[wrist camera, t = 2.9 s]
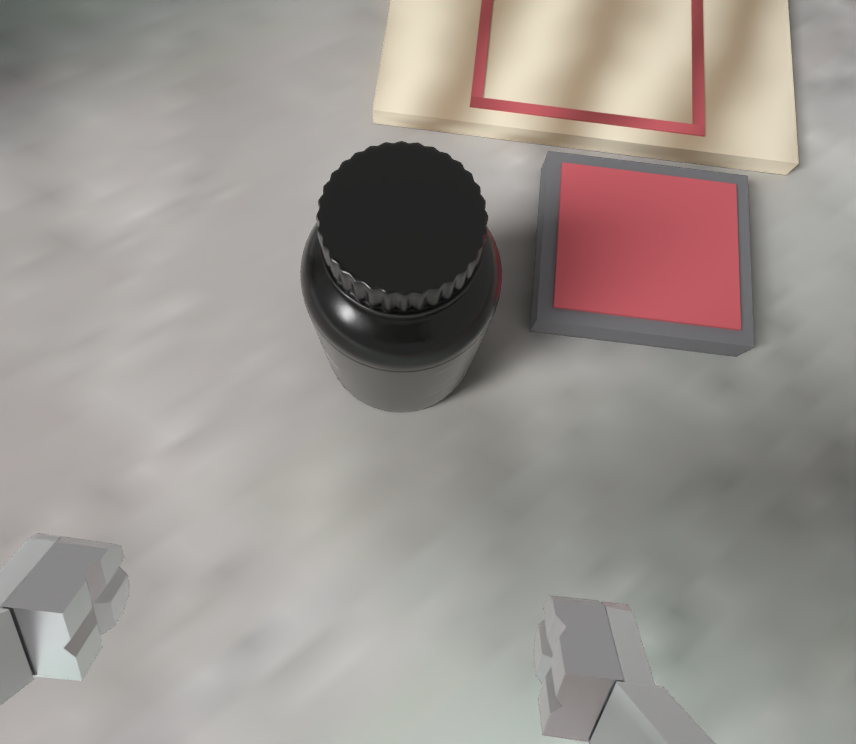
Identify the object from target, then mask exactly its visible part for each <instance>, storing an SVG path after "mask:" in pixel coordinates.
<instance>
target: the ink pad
mask: <svg viewBox="0 0 856 744" xmlns="http://www.w3.org/2000/svg"><path fill="white" fill-rule="evenodd" d="M530 331H532V332H540V333H548V334H556V335H564V336H573V337H581V338H589V339H597V340H605V341H613V342H622V343H630V344H638V345H646V346H654V347H663V348H671V349H679V350H687V351H695V352H703V353H712V354H720V355H728V356H738V355H740V354H742V353H744V352H746V351H747V350H749V349H751V348H753V347H754V328H753V302H752V277H751V251H750V225H749V200H748V176H745V175H737V174H729V173H721V172H713V171H705V170H697V169H689V168H681V167H673V166H665V165H657V164H649V163H641V162H633V161H625V160H617V159H609V158H601V157H593V156H585V155H577V154H569V153H561V152H553V151H548V153H547V156H546V158H545V161H544V163H543V166H542V169H541V181H540V195H539V209H538V224H537V238H536V252H535V266H534V280H533V294H532V308H531V322H530Z"/></svg>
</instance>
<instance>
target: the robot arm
mask: <svg viewBox="0 0 856 744" xmlns="http://www.w3.org/2000/svg"><path fill="white" fill-rule="evenodd" d="M124 558H125V557H124V554H123V550H122V546H121V545H117V544H112V543H105V542H98V541H91V540H85V539H78V538H71V537H63V536H55V535H48V534H41V533H37V534H36V535H34V536H32V537H30V538H29V539H27V541H26V542H25V543H24V544H23V545H22V546H21V547H20V548H19V550H18V551H17V552H16V553H15V554H14V555H13V556H12V557H11V559H10V560H9V561H8V562H7V563H6V564H5V565H4V566H3V568H2V569H1V570H0V705H2V704H3V703H4V702H6V701H7V700H8V699H9V698H11V697H12V696H13V695H15V694H16V693H17V692H19V691H20V690H21V689H22V688H24V687H25V686H26V685H28V684H29V683H30V682H32V681H33V680H34V677H44V678H55V679H67V680H78V681H83V679H84V677H85V676H86V674H87V672H88V671H89V669H90V667H91V666H92V664H93V662H94V661H95V659H96V657H97V656H98V654H99V653H100V651H101V649H102V648H103V646H102V640H101V635H102V634H104V633H105V632H107V631H108V630H110V629H111V628H113V627H114V626H116V624H117V622H118V621H119V619H120V617H121V615H122V614H123V612H124V609H125V606H126V603H127V600H128V597H129V586H130V583H129V578H128V574H127V573H126V572H125V571H124V570H123V569H122V568H121V567H120V564H121V563H122V561H123V560H124ZM543 610H544V617H545V620H544V621H542V622H541V623H539V624H538V627H537V631H536V635H535V643H534V667H535V676H536V677H537V678H538V680H539V681H540V682H541V684H542V688H541V691H540V694H539V697H538V703H539V711H540V719H541V727H542V735H544V736H551V737H558V738H565V739H571V740H578V741H585V742H589V744H715V742H714V741H713V740H712V739H711V738H710V737H709V736H708V735H707V734H706V733H705V732H704V731H703V729H702V728H701V727H700V726H699V725H698V724H697V723H696V722H695V721H694V720H693V719H692V717H691V716H690V715H689V714H688V713H687V712H686V711H685V710H684V709H683V708H682V707H681V706H680V704H679V703H678V702H677V701H676V700H675V699H674V698H673V697H672V696H671V695H670V694H669V692H668V691H667V690H666V689H665V688H664V687H660V686H655V683H654V680H653V677H652V673H651V670H650V667H649V664H648V660H647V657H646V654H645V651H644V647H643V644H642V641H641V638H640V634H639V631H638V628H637V624H636V621H635V618H634V615H633V611H632V609H631V608H630V607H629V605H627V604H619V603H611V602H600V601H597V600H588V599H578V598H569V597H560V596H550V595H549V597H548V598H547V599H546V602H545V605H544V608H543Z"/></svg>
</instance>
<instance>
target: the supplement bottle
mask: <svg viewBox="0 0 856 744" xmlns="http://www.w3.org/2000/svg"><path fill="white" fill-rule="evenodd" d="M318 205H319V211H318V213H317V216H316V220H317V223H316V224H315V226H314V227H313V229H312V231H311V233H310V235H309V237H308V239H307V242H306V244H305V248H304V251H303V255H302V261H301V271H300V273H301V287H302V293H303V297H304V301H305V304H306V307H307V310H308V313H309V315H310V318H311V320H312V323H313V325H314V327H315V330H316V332H317V334H318V337H319V339H320V341H321V344H322V346H323V349H324V351H325V353H326V356H327V358H328V360H329V363H330V365H331V367H332V369H333V371H334V373H335V375H336V376H337V378H338V380H339V381H340V382H341V384H342V385H343V386H344V387H345V388H346V389H347V390H348V391H349V392H350V393H351V394H352V395H353V396H354V397H356V398H357V399H358V400H360V401H362V402H363V403H365V404H367V405H369V406H371V407H374V408H377V409H380V410H384V411H389V412H412V411H417V410H421V409H425V408H427V407H430V406H432V405H434V404H436V403H438V402H440V401H441V400H443V399H444V398H445V397H447V396H448V395H449V394H450V393H451V392H452V391H453V390H454V389H455V388H456V387H457V386H458V385H459V384H460V382H461V381H462V379H463V378H464V376H465V375H466V373H467V371H468V369H469V367H470V365H471V363H472V361H473V359H474V356H475V354H476V352H477V350H478V348H479V345H480V343H481V341H482V339H483V337H484V335H485V332H486V330H487V328H488V326H489V324H490V321H491V319H492V317H493V315H494V312H495V309H496V306H497V303H498V300H499V295H500V290H501V282H502V270H501V261H500V256H499V252H498V249H497V246H496V243H495V240H494V238H493V236H492V234H491V232H490V231H489V229H488V227H487V221H488V215H487V212H486V211H485V205H486V201H485V200H484V198H483V197H482V195H481V191H480V186H479V185H478V184H477V183H475V182H474V180H473V176H472V174H471V173H470V172H469V171H466V170H465V169H464V167H463V165H462V164H461V162H458V161H456V160H453V159H452V158H451V156H450V155H449V154H447V153H443V152H439V151H438V150H437V149H435V148H434V147H428V146H423V145H421V144H419V143H410V144H409V143H406V142H403V141H400V142H397V143H387V142H385V143H383V144H381V145H379V146H370V147H368V148H367V149H366V150H365V151H362V152H357V153H355V154H354V155H353V156H352V157H351V159H349V160H346V161H344V162H342V164H341V166H340V168H339V169H338V170H336V171H334V172H333V173H332V174H331V177H330V181H329V182H327V183H326V184H325V185H324V188H323V195H322V196H321V197H320V199H319V201H318Z"/></svg>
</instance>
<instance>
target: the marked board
mask: <svg viewBox="0 0 856 744" xmlns="http://www.w3.org/2000/svg"><path fill="white" fill-rule="evenodd" d="M373 123H376V124H384V125H392V126H400V127H408V128H416V129H424V130H432V131H440V132H448V133H456V134H464V135H471V136H479V137H487V138H495V139H503V140H511V141H519V142H527V143H535V144H543V145H551V146H559V147H567V148H575V149H583V150H591V151H599V152H607V153H615V154H623V155H631V156H639V157H647V158H655V159H663V160H671V161H679V162H687V163H695V164H702V165H710V166H718V167H726V168H734V169H742V170H750V171H758V172H766V173H774V174H782V175H787V174H788V173H789V172H790V171H791V170H792V169H793V168H795V167H796V166H797V165H798V164H799V159H798V144H797V129H796V114H795V99H794V84H793V69H792V54H791V39H790V24H789V9H788V0H391V2H390V8H389V14H388V20H387V26H386V32H385V38H384V44H383V50H382V56H381V62H380V68H379V74H378V80H377V86H376V92H375V98H374V104H373Z"/></svg>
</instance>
